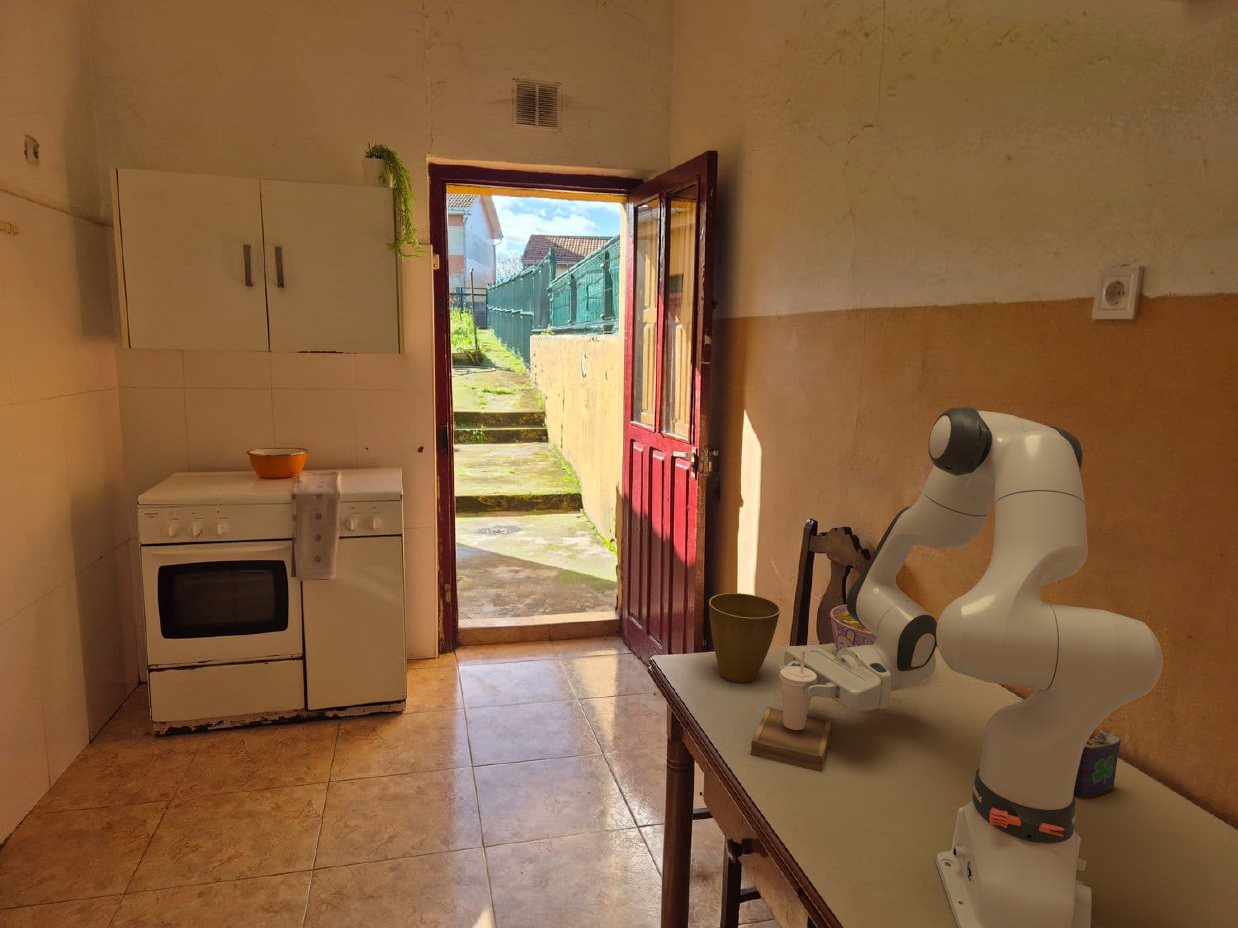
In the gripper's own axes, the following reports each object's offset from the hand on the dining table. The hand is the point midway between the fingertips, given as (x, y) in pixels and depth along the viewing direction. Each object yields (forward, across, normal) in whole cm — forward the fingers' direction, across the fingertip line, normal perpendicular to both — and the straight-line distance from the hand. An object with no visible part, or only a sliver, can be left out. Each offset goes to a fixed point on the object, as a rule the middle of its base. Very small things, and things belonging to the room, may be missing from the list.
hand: (793, 681), depth 136 cm
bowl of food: (-38, -22, +12) cm, 46 cm away
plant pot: (-7, -28, +12) cm, 31 cm away
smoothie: (-1, 0, +8) cm, 9 cm away
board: (-1, 0, +12) cm, 12 cm away
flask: (-40, +29, +12) cm, 51 cm away
